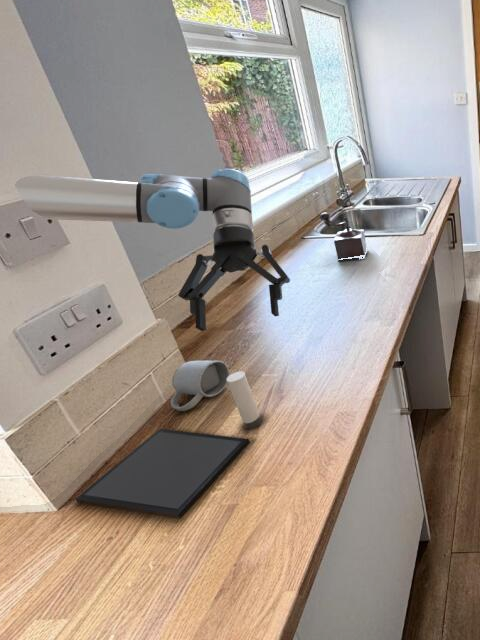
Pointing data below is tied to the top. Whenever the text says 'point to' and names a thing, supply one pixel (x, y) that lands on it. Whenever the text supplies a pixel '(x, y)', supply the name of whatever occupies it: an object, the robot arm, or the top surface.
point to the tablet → (165, 473)
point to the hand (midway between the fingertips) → (239, 321)
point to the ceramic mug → (198, 381)
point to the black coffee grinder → (347, 240)
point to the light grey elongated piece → (244, 399)
